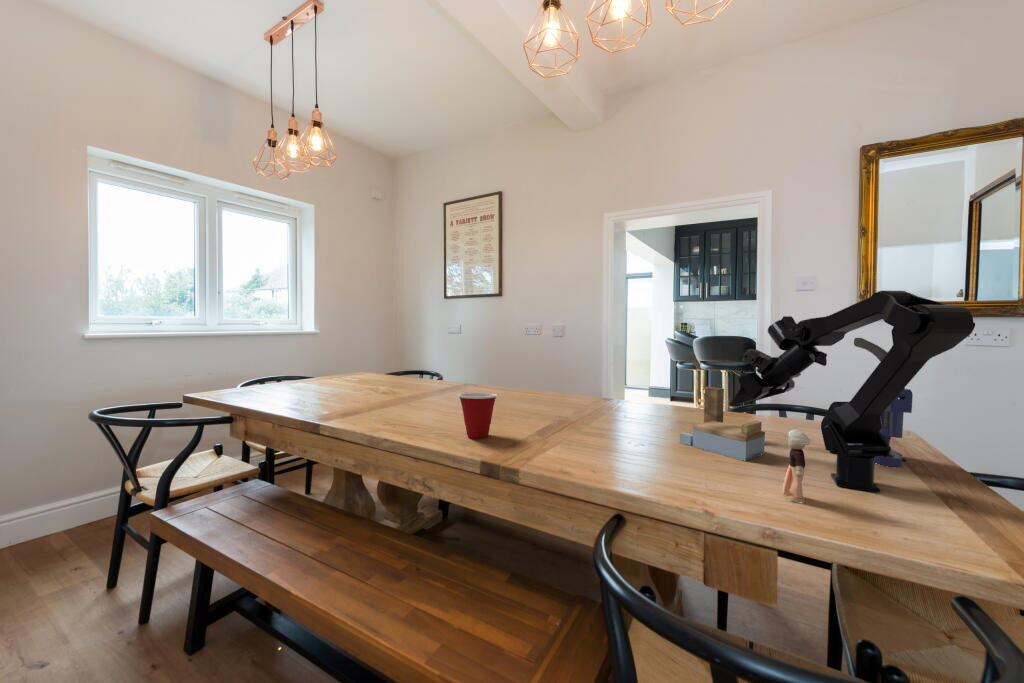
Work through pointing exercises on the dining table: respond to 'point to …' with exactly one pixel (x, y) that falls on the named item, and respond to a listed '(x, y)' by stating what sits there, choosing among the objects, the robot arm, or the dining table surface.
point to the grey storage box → (724, 444)
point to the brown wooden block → (713, 404)
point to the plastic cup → (477, 413)
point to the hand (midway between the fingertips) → (741, 401)
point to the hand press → (889, 411)
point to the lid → (732, 430)
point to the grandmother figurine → (795, 466)
